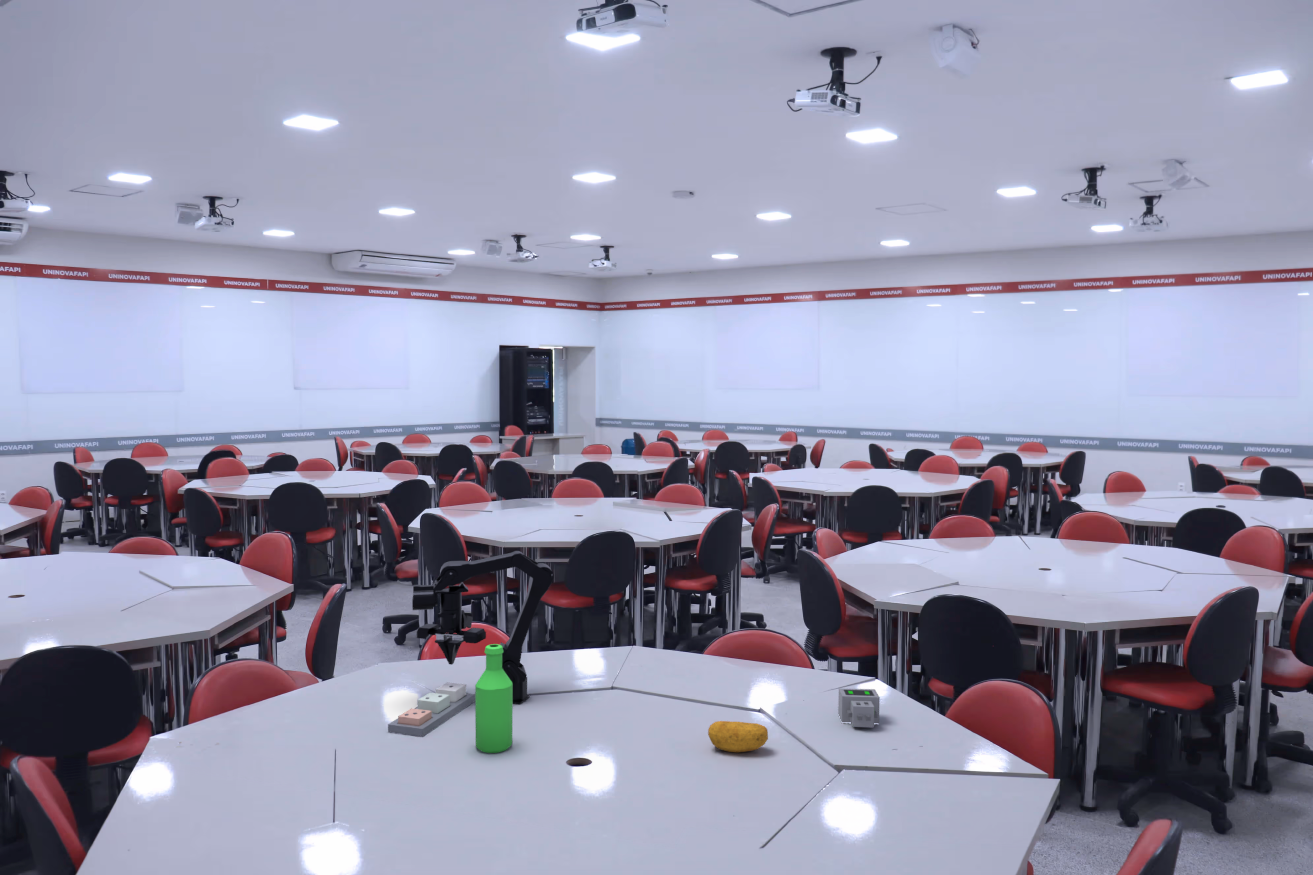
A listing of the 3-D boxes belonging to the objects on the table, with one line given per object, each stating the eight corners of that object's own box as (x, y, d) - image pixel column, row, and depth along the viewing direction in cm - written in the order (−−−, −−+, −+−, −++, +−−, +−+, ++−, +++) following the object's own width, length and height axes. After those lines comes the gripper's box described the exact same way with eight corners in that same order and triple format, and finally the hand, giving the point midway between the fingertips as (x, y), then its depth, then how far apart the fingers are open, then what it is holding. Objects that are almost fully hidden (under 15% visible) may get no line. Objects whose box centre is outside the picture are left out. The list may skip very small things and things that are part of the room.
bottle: (468, 750, 207) (467, 647, 206) (491, 737, 214) (491, 638, 213) (497, 757, 203) (497, 652, 202) (519, 744, 210) (519, 643, 209)
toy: (845, 703, 220) (836, 684, 235) (845, 732, 220) (836, 711, 235) (883, 704, 219) (872, 684, 234) (883, 733, 220) (872, 712, 235)
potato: (767, 759, 203) (767, 729, 203) (706, 754, 205) (706, 725, 205) (768, 747, 210) (768, 718, 210) (709, 742, 212) (709, 714, 212)
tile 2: (449, 705, 231) (449, 694, 231) (437, 713, 225) (437, 701, 225) (429, 703, 233) (429, 692, 233) (417, 710, 227) (417, 699, 227)
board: (475, 700, 241) (475, 693, 241) (422, 736, 215) (422, 728, 215) (443, 697, 243) (443, 690, 243) (387, 731, 218) (387, 724, 218)
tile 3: (431, 722, 222) (431, 710, 222) (418, 730, 217) (418, 718, 217) (411, 719, 224) (411, 707, 224) (398, 727, 218) (398, 715, 218)
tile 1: (466, 694, 240) (466, 683, 240) (455, 702, 234) (455, 690, 234) (447, 692, 241) (447, 681, 241) (435, 699, 236) (435, 688, 235)
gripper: (495, 603, 242) (495, 658, 242) (436, 599, 247) (436, 652, 248) (475, 613, 231) (476, 670, 232) (415, 608, 236) (415, 664, 237)
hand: (451, 663), depth 237 cm, fingers closed
